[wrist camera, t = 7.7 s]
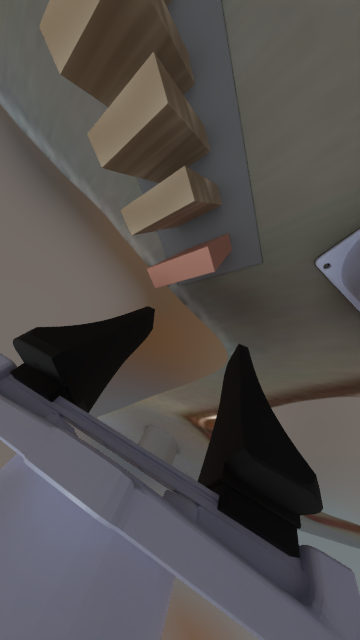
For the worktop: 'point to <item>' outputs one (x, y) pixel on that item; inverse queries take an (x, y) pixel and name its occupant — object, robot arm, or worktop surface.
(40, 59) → the worktop surface
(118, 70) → the domino
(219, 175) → the mat
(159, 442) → the lumpy-topped squat cylinder
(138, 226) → the domino
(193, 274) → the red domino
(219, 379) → the worktop surface
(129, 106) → the domino
